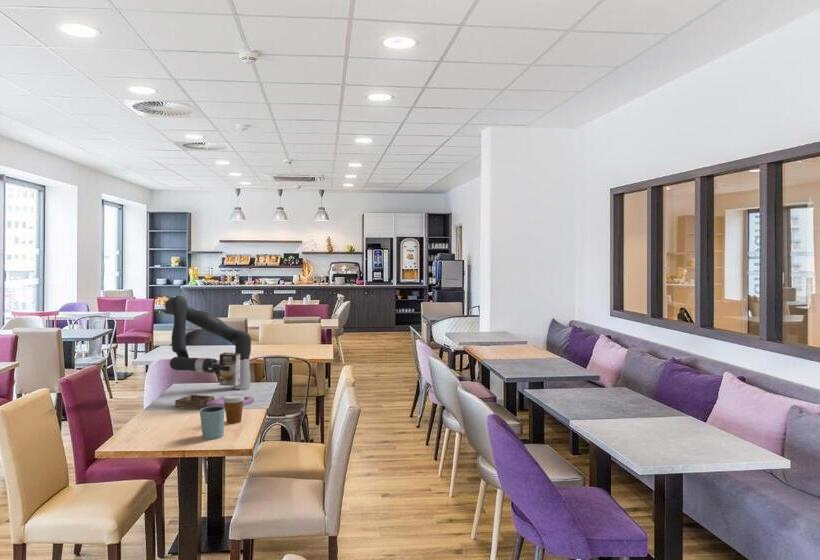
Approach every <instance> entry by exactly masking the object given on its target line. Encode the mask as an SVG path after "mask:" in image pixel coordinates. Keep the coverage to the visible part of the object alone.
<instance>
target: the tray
mask: <svg viewBox="0 0 820 560" xmlns="http://www.w3.org/2000/svg"><path fill="white" fill-rule="evenodd" d="M227 395H228V394H225V395H223V396H220V397H217V398H214V400H212V401H209V402H207V403H206V407H209V406H222V407H224V408H225V405H224V401H223V399H224V396H227ZM243 397H244V401H243V406H244V405H246V406H248V405H250V404H253V403H254V402H255V400H254V399H255V397H254V396H244V395H243ZM252 402H253V403H252ZM247 404H248V405H247ZM244 407H245V406H244Z"/></svg>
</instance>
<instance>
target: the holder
mask: <svg viewBox="0 0 820 560" xmlns="http://www.w3.org/2000/svg"><path fill="white" fill-rule="evenodd" d="M214 399H215V396H214V395H203V394H201V395H200V394H190V395H187V396H184V397H181V398H177V399H175V400H174V403H175V404H174V405H175V406H174V407H175V408H180V407H183V408H182V409H191V408H197V409H196V410H200V409H199V408H201V409H202V407H203V408H205V406H206V403H207V402H209V401H212V400H214Z"/></svg>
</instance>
